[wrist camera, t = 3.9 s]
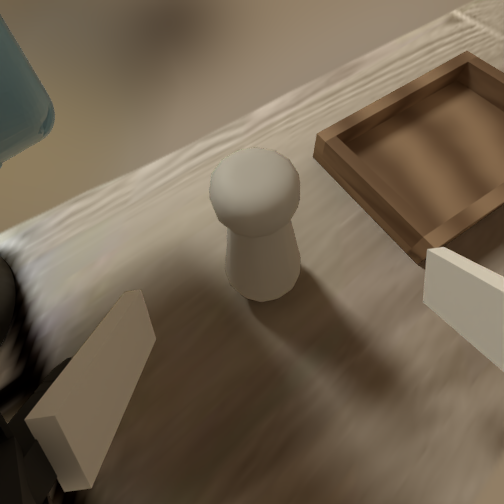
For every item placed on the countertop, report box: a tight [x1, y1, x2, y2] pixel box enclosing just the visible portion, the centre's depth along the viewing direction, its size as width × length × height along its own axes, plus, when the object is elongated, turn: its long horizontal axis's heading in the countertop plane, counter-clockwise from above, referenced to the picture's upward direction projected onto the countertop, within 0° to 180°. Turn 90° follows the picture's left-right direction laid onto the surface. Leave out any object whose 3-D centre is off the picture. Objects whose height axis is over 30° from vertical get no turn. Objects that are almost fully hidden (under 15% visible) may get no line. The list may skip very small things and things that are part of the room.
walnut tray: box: [313, 51, 504, 264], centre depth 27 cm, size 19×14×3 cm
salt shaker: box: [209, 147, 300, 302], centre depth 19 cm, size 6×6×13 cm
